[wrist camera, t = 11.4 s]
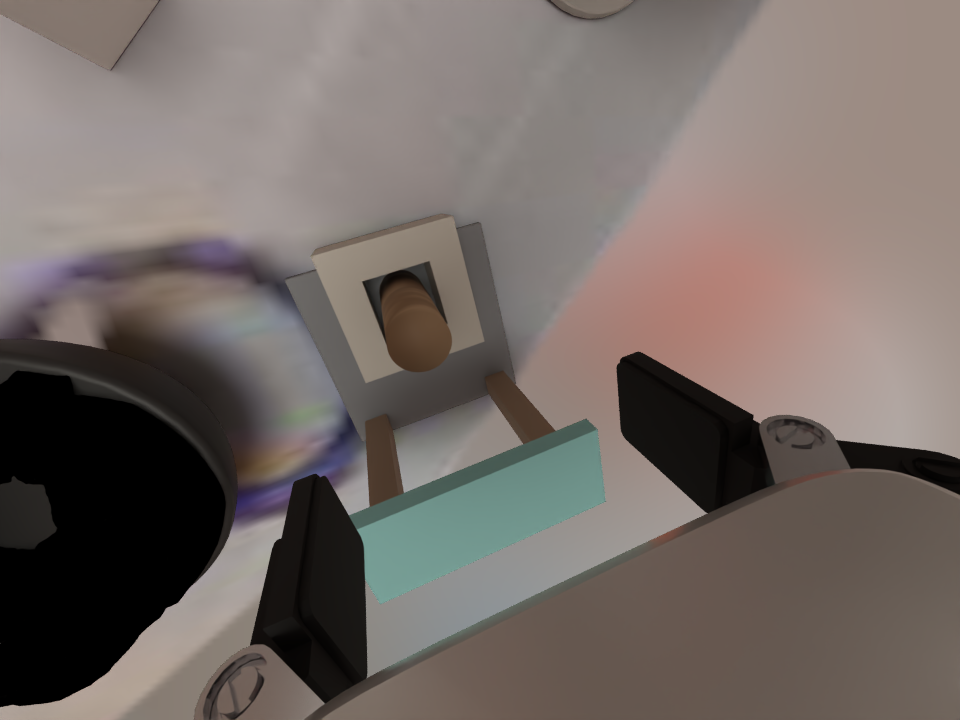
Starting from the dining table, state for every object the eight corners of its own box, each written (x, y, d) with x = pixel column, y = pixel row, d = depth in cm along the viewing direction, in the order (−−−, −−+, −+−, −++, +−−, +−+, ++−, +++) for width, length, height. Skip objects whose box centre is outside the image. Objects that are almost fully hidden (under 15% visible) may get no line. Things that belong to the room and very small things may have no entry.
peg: (415, 264, 31) (441, 303, 20) (428, 305, 32) (459, 360, 22) (372, 277, 30) (377, 323, 20) (387, 318, 32) (399, 380, 21)
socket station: (473, 203, 31) (583, 209, 16) (514, 384, 39) (612, 498, 24) (277, 259, 29) (194, 326, 14) (364, 441, 37) (372, 608, 22)
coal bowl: (253, 521, 36) (171, 790, 20) (-44, 523, 29) (-570, 958, 12) (277, 328, 30) (188, 483, 14) (-90, 266, 23) (-1230, 447, 6)
